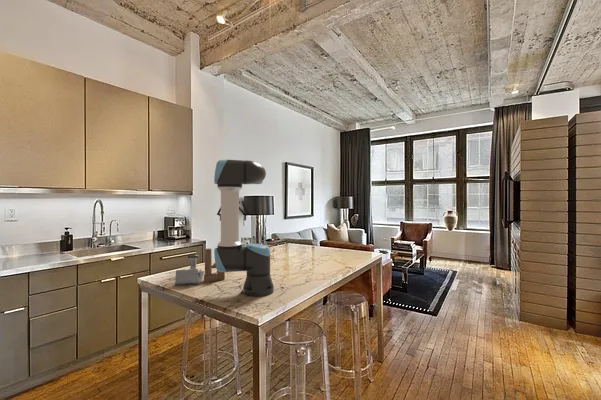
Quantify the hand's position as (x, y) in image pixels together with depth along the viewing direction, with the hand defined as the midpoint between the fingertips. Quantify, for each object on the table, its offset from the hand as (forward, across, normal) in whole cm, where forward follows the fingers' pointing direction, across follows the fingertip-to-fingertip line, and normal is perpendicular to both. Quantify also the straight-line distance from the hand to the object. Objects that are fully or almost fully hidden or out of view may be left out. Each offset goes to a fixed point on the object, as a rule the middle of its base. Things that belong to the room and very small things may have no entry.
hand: (233, 225), depth 184 cm
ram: (+27, +23, +12) cm, 37 cm away
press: (+28, +23, +20) cm, 42 cm away
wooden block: (+28, +10, +25) cm, 39 cm away
